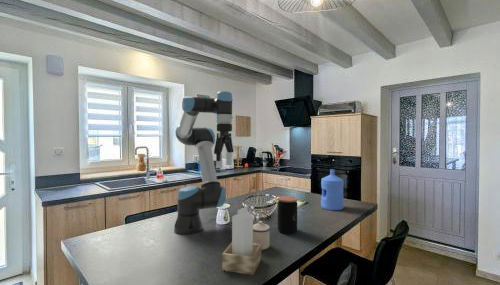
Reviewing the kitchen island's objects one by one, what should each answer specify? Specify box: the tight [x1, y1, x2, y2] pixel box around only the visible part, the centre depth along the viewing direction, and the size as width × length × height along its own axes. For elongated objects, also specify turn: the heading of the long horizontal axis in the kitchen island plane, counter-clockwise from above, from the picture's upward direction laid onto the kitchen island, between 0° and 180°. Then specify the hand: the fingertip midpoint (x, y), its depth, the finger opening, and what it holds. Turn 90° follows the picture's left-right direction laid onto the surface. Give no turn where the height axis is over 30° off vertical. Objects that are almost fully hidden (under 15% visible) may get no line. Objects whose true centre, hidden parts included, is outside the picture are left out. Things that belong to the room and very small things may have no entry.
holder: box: [221, 241, 262, 276], centre depth 103 cm, size 13×13×6 cm
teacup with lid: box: [253, 220, 271, 251], centre depth 119 cm, size 12×9×12 cm
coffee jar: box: [277, 195, 298, 235], centre depth 140 cm, size 11×11×18 cm
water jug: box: [320, 168, 345, 211], centre depth 186 cm, size 16×16×28 cm
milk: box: [231, 206, 254, 257], centre depth 102 cm, size 6×6×22 cm
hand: (224, 166), depth 126 cm, fingers open, 13 cm apart
